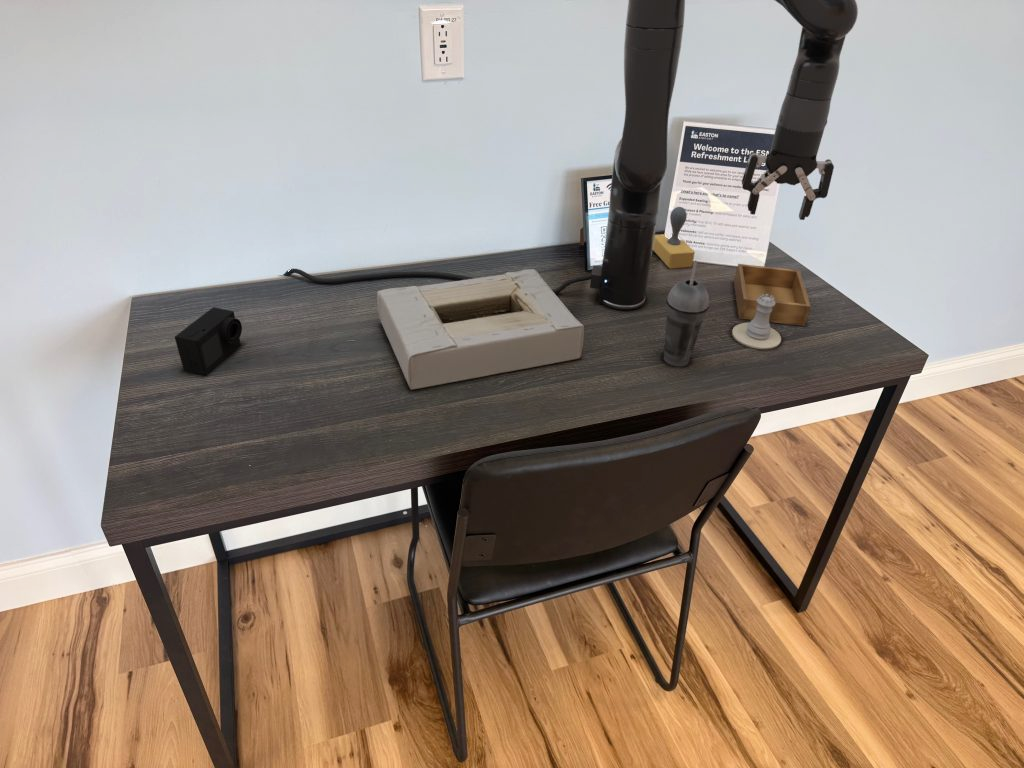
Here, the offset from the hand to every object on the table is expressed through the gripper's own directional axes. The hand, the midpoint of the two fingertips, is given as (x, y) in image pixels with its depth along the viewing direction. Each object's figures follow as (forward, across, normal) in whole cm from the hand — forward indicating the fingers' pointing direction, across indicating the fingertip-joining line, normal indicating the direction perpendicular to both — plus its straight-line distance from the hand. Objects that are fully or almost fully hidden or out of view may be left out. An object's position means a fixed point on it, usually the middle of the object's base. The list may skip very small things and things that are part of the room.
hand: (776, 215), depth 131 cm
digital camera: (+23, +92, +36) cm, 102 cm away
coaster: (+22, -1, +6) cm, 23 cm away
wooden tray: (+22, -4, -8) cm, 24 cm away
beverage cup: (+22, +14, +17) cm, 31 cm away
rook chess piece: (+22, -1, +6) cm, 22 cm away
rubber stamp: (+22, +15, -25) cm, 37 cm away
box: (+23, +50, +20) cm, 58 cm away
